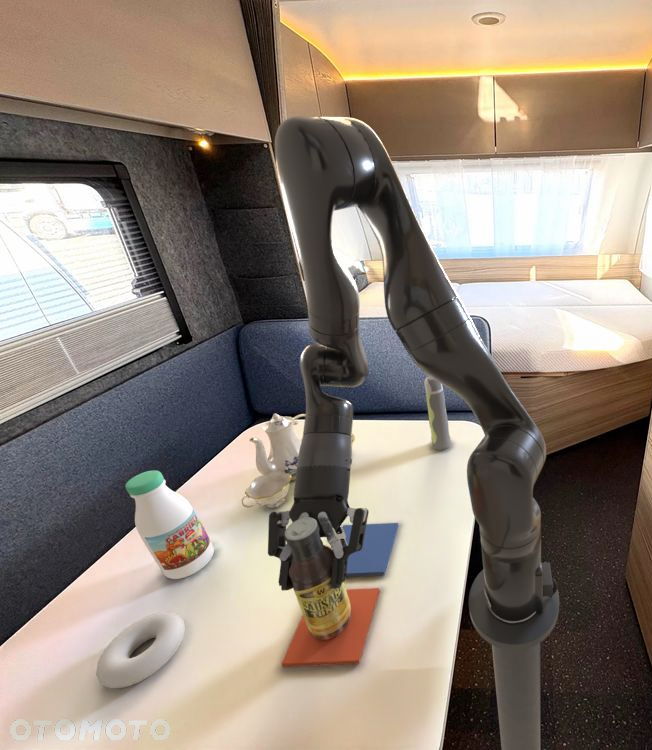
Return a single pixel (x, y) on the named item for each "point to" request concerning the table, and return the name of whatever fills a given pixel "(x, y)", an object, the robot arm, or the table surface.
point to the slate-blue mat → (371, 549)
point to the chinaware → (276, 462)
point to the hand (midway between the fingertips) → (312, 588)
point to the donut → (127, 671)
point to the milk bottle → (169, 526)
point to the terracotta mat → (344, 644)
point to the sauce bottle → (316, 581)
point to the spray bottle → (437, 414)
